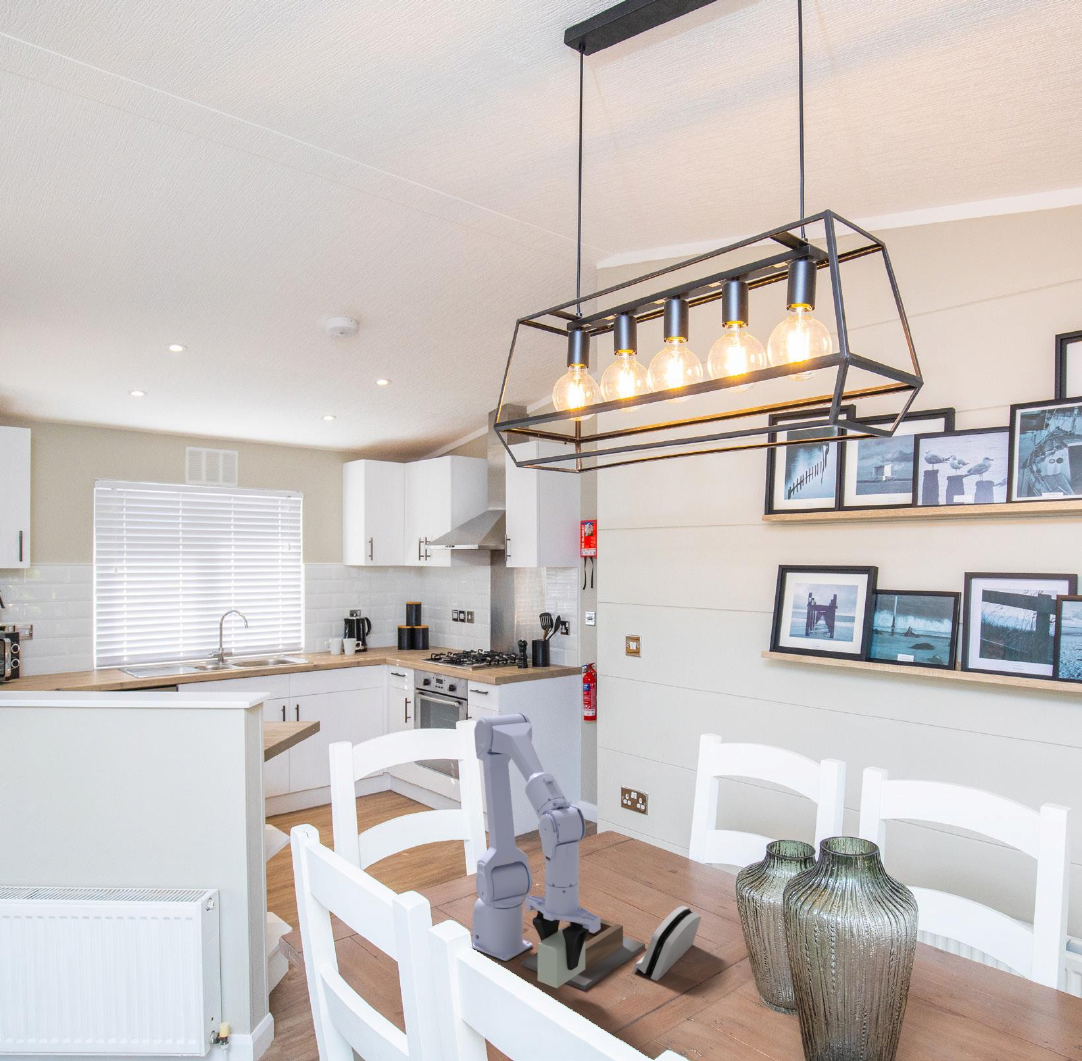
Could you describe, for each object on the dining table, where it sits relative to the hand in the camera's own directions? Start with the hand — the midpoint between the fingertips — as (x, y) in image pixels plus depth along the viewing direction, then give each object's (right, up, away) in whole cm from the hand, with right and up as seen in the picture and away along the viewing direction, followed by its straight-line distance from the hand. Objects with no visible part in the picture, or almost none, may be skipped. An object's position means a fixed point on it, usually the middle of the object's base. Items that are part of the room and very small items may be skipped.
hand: (561, 963), depth 134 cm
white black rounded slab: (+20, -7, +14) cm, 26 cm away
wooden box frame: (+5, -7, +15) cm, 17 cm away
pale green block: (0, -2, 0) cm, 2 cm away
